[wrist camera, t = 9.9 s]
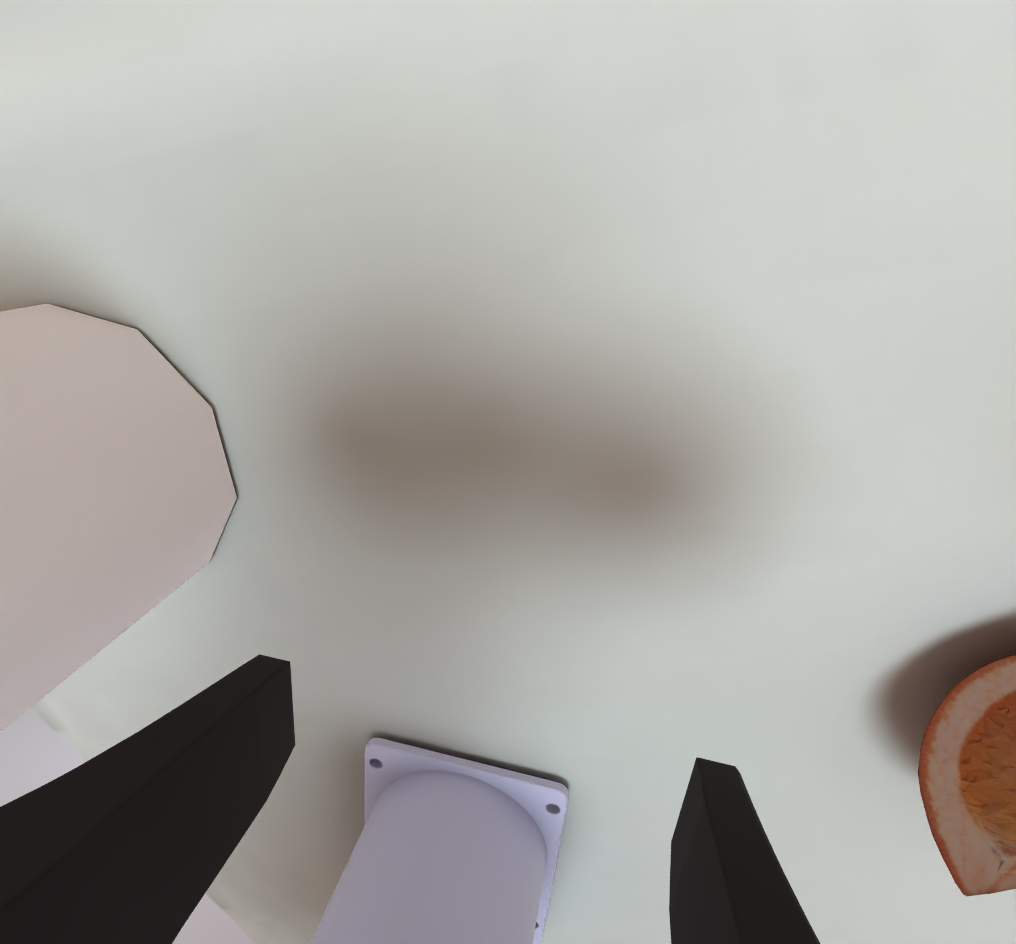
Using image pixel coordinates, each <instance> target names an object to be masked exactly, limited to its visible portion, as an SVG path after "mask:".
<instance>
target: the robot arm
mask: <svg viewBox="0 0 1016 944" xmlns="http://www.w3.org/2000/svg"><path fill="white" fill-rule="evenodd" d="M294 746H295V734H294V718H293V701H292V685H291V669H290V662H289V661H285V660H280V659H276V658H272V657H268V656H263V655H258V656H256V657H255V658H253V659H252V660H250V661H248V662H247V663H245V664H244V665H242V666H240V667H239V668H237V669H236V670H234V671H233V672H231V673H230V674H228V675H227V676H225V677H223V678H222V679H220V680H219V681H217V682H216V683H214V684H213V685H211V686H210V687H208V688H207V689H205V690H203V691H202V692H200V693H199V694H197V695H196V696H194V697H193V698H191V699H190V700H188V701H186V702H185V703H183V704H182V705H180V706H179V707H177V708H175V709H174V710H172V711H171V712H169V713H167V714H166V715H164V716H163V717H161V718H159V719H158V720H156V721H155V722H153V723H152V724H150V725H148V726H147V727H145V728H144V729H142V730H140V731H139V732H137V733H135V734H134V735H132V736H130V737H128V738H127V739H125V740H123V741H122V742H120V743H118V744H116V745H115V746H113V747H111V748H109V749H108V750H106V751H104V752H103V753H101V754H99V755H97V756H96V757H94V758H92V759H91V760H89V761H87V762H85V763H84V764H82V765H80V766H79V767H77V768H75V769H73V770H71V771H69V772H68V773H66V774H64V775H62V776H60V777H58V778H57V779H55V780H53V781H51V782H49V783H47V784H45V785H43V786H41V787H40V788H38V789H36V790H33V791H31V792H29V793H27V794H25V795H24V796H21V797H19V798H17V799H15V800H13V801H11V802H9V803H7V804H6V805H3V806H2V807H0V944H172V943H173V941H174V940H175V938H176V936H177V935H178V933H179V931H180V930H181V928H182V927H183V925H184V924H185V922H186V921H187V919H188V918H189V916H190V915H191V913H192V912H193V910H194V909H195V907H196V906H197V904H198V903H199V901H200V900H201V898H202V897H203V895H204V894H205V892H206V891H207V889H208V888H209V886H210V885H211V883H212V882H213V880H214V879H215V877H216V876H217V875H218V873H219V872H220V870H221V869H222V867H223V866H224V864H225V863H226V861H227V860H228V858H229V857H230V855H231V854H232V852H233V851H234V849H235V848H236V846H237V845H238V843H239V842H240V840H241V839H242V837H243V836H244V834H245V833H246V831H247V830H248V828H249V827H250V825H251V824H252V822H253V821H254V819H255V817H256V816H257V814H258V813H259V811H260V810H261V808H262V807H263V805H264V804H265V802H266V801H267V799H268V797H269V795H270V793H271V791H272V789H273V787H274V786H275V784H276V782H277V780H278V778H279V776H280V774H281V772H282V770H283V768H284V766H285V764H286V762H287V760H288V758H289V756H290V754H291V752H292V750H293V748H294ZM568 799H569V791H568V789H567V788H566V787H565V786H564V785H563V784H561V783H558V782H555V781H551V780H547V779H543V778H539V777H535V776H531V775H527V774H523V773H519V772H515V771H511V770H507V769H503V768H499V767H495V766H490V765H486V764H482V763H478V762H474V761H470V760H466V759H462V758H458V757H454V756H450V755H446V754H442V753H438V752H434V751H430V750H426V749H422V748H418V747H414V746H410V745H406V744H402V743H398V742H394V741H390V740H386V739H382V738H372V739H370V740H369V741H368V743H367V745H366V747H365V750H364V828H363V830H362V833H361V835H360V837H359V839H358V841H357V843H356V845H355V848H354V850H353V852H352V854H351V856H350V858H349V860H348V863H347V865H346V867H345V869H344V871H343V873H342V876H341V878H340V880H339V882H338V884H337V886H336V888H335V891H334V893H333V895H332V897H331V899H330V901H329V903H328V906H327V908H326V910H325V912H324V914H323V916H322V919H321V921H320V923H319V925H318V927H317V929H316V931H315V934H314V936H313V938H312V940H311V942H310V944H540V943H541V941H542V936H543V931H544V925H545V920H546V915H547V910H548V904H549V899H550V894H551V889H552V884H553V878H554V873H555V868H556V863H557V857H558V852H559V847H560V842H561V836H562V831H563V826H564V821H565V816H566V810H567V805H568ZM553 804H555V805H553ZM669 912H670V929H671V943H672V944H820V942H819V940H818V938H817V937H816V935H815V933H814V931H813V929H812V927H811V925H810V923H809V921H808V920H807V918H806V916H805V914H804V912H803V910H802V908H801V906H800V904H799V902H798V900H797V898H796V896H795V894H794V892H793V890H792V888H791V886H790V884H789V882H788V880H787V878H786V876H785V874H784V872H783V870H782V868H781V865H780V863H779V861H778V859H777V857H776V855H775V853H774V851H773V848H772V846H771V844H770V842H769V840H768V838H767V835H766V833H765V831H764V829H763V827H762V824H761V822H760V820H759V817H758V815H757V813H756V811H755V808H754V806H753V803H752V801H751V799H750V796H749V794H748V791H747V789H746V787H745V784H744V782H743V779H742V777H741V774H740V772H739V771H738V770H737V768H736V767H735V766H731V765H727V764H723V763H719V762H714V761H710V760H706V759H702V758H696V761H695V764H694V768H693V771H692V774H691V778H690V781H689V784H688V788H687V791H686V794H685V798H684V801H683V804H682V808H681V811H680V815H679V818H678V821H677V825H676V828H675V831H674V835H673V838H672V841H671V867H670V904H669Z"/></svg>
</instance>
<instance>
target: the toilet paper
mask: <svg viewBox="0 0 1016 944" xmlns="http://www.w3.org/2000/svg"><path fill="white" fill-rule="evenodd" d="M236 499H237V497H236V493H235V490H234V486H233V482H232V479H231V475H230V472H229V468H228V464H227V461H226V457H225V454H224V450H223V447H222V443H221V439H220V436H219V432H218V429H217V425H216V421H215V418H214V414H213V411H212V407H211V406H210V405H209V404H208V403H207V402H206V401H205V400H204V399H203V398H202V397H201V396H200V395H199V394H198V393H197V392H196V391H195V389H194V388H193V387H192V386H191V385H190V384H189V383H188V382H187V381H186V380H185V379H184V378H183V377H182V376H181V375H180V374H179V373H178V372H177V371H176V370H175V368H174V367H173V366H172V365H171V364H170V363H169V362H168V361H167V360H166V359H165V358H164V357H163V356H162V355H161V354H160V353H159V352H158V351H157V350H156V349H155V348H154V346H153V345H152V344H151V343H150V342H149V341H148V340H147V339H146V338H145V337H144V336H143V335H142V334H141V333H140V332H139V331H138V330H137V329H134V328H130V327H127V326H123V325H120V324H117V323H113V322H110V321H106V320H103V319H99V318H96V317H92V316H89V315H85V314H82V313H78V312H75V311H71V310H68V309H65V308H61V307H58V306H54V305H51V304H41V305H36V306H30V307H24V308H18V309H12V310H6V311H1V312H0V732H1V731H2V730H4V729H5V728H6V727H7V726H8V725H10V724H11V723H12V722H13V721H15V720H16V719H17V718H18V717H20V716H21V715H22V714H23V713H24V712H26V711H27V710H28V709H30V708H31V707H32V706H33V705H34V704H36V703H37V702H38V701H39V700H41V699H42V698H43V697H44V696H46V695H47V694H48V693H49V692H50V691H52V690H53V689H54V688H55V687H57V686H58V685H59V684H60V683H62V682H63V681H64V680H65V679H66V678H68V677H69V676H70V675H71V674H73V673H74V672H75V671H76V670H78V669H79V668H80V667H81V666H82V665H84V664H85V663H86V662H87V661H89V660H90V659H91V658H92V657H94V656H95V655H96V654H97V653H98V652H100V651H101V650H102V649H103V648H105V647H106V646H107V645H108V644H110V643H111V642H112V641H113V640H115V639H116V638H117V637H118V636H119V635H121V634H122V633H123V632H124V631H126V630H127V629H128V628H129V627H131V626H132V625H133V624H134V623H135V622H137V621H138V620H139V619H140V618H142V617H143V616H144V615H145V614H147V613H148V612H149V611H150V610H151V609H153V608H154V607H155V606H156V605H158V604H159V603H160V602H161V601H163V600H164V599H165V598H166V597H167V596H169V595H170V594H171V593H172V592H174V591H175V590H176V589H177V588H179V587H180V586H181V585H182V584H183V583H185V582H186V581H187V580H188V579H190V578H191V577H192V576H193V575H195V574H196V573H197V572H198V571H199V570H201V569H202V568H203V567H204V566H206V565H207V564H208V563H209V562H210V560H211V558H212V555H213V553H214V550H215V548H216V546H217V543H218V541H219V539H220V536H221V534H222V532H223V529H224V527H225V524H226V522H227V520H228V517H229V515H230V513H231V510H232V508H233V506H234V503H235V501H236Z"/></svg>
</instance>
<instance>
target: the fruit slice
mask: <svg viewBox="0 0 1016 944" xmlns="http://www.w3.org/2000/svg"><path fill="white" fill-rule="evenodd" d="M918 777H919V784H920V792H921V796H922V800H923V804H924V808H925V811H926V816H927V819H928V822H929V826H930V829H931V832H932V835H933V837H934V840H935V842H936V844H937V846H938V849H939V851H940V853H941V855H942V858H943V860H944V861H945V863H946V865H947V867H948V869H949V871H950V873H951V875H952V877H953V879H954V881H955V883H956V884H957V886H958V887H959V889H960V890H961V892H962V893H963V894H964V895H966V896H973V895H980V894H991V893H996V892H1001V891H1006V890H1011V889H1016V655H1013V656H1010V657H1006V658H1003V659H1000V660H997V661H995V662H992V663H990V664H987V665H985V666H983V667H981V668H980V669H978V670H977V671H975V672H973V673H972V674H970V675H969V676H967V677H966V678H965V679H963V680H962V681H961V682H959V683H958V684H957V685H956V686H955V687H954V688H953V689H952V690H951V691H950V692H949V693H948V694H947V695H946V697H945V698H944V699H943V701H942V702H941V704H940V705H939V707H938V708H937V710H936V712H935V713H934V715H933V717H932V718H931V720H930V722H929V724H928V726H927V727H926V729H925V733H924V736H923V740H922V744H921V749H920V760H919V767H918Z"/></svg>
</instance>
